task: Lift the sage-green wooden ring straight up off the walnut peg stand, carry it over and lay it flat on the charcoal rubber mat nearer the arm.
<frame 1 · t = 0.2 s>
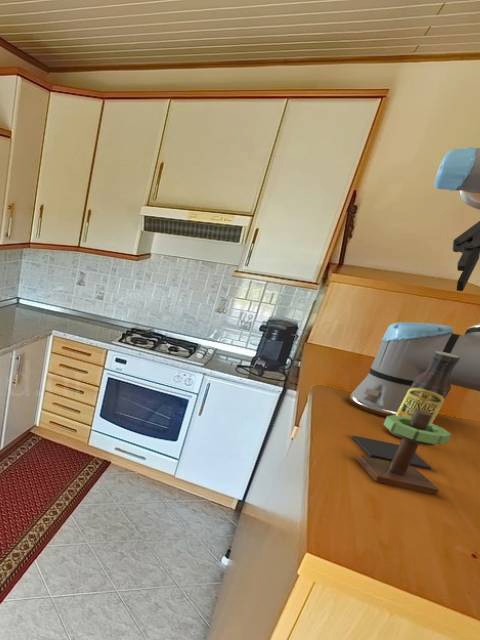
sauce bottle: (405, 438, 110), on the worktop
peg stand: (394, 476, 90), on the worktop
ring: (414, 433, 87), point 9 cm above the worktop, touching peg stand
mat: (389, 452, 101), on the worktop
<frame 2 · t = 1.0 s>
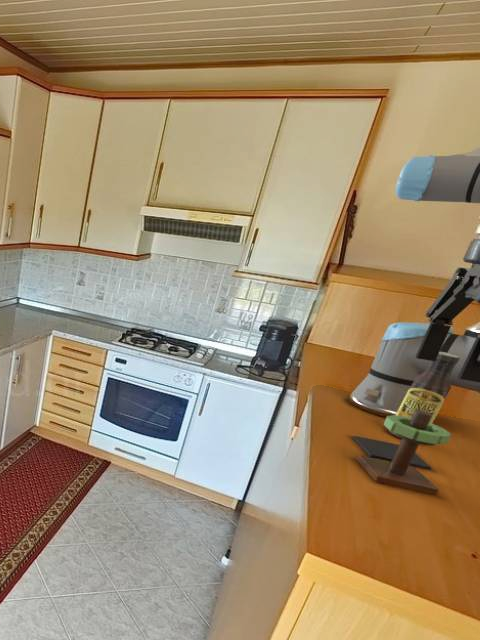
hand: (445, 369, 83), 21 cm above the worktop, tool pointing down, fingers open, 13 cm apart
nothing on the worktop moved.
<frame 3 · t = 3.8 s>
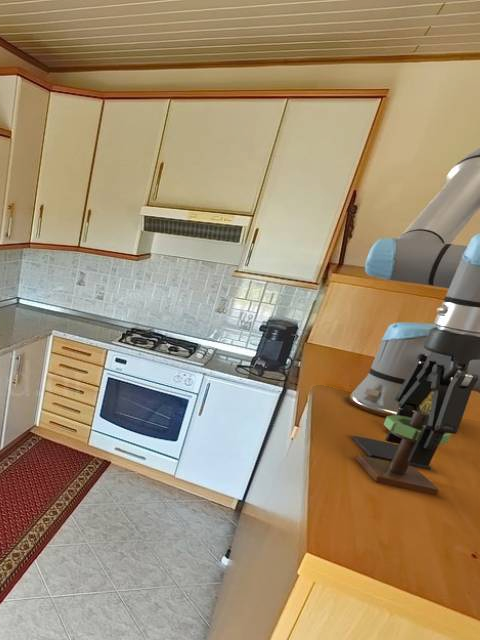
hand: (405, 452, 88), 5 cm above the worktop, tool pointing down, fingers closed on ring, 8 cm apart
ring: (414, 433, 87), point 9 cm above the worktop, touching gripper, peg stand
everything else where it was.
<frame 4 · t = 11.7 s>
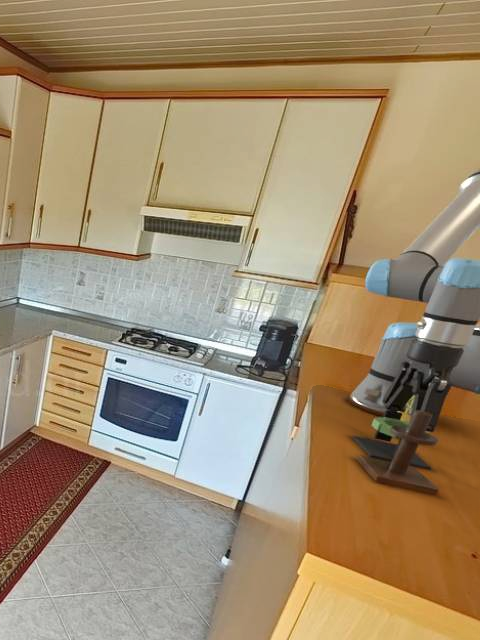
hand: (391, 448, 100), 1 cm above the worktop, tool pointing down, fingers closed on ring, 8 cm apart
ring: (398, 432, 99), point 5 cm above the worktop, touching gripper
everything else where it was.
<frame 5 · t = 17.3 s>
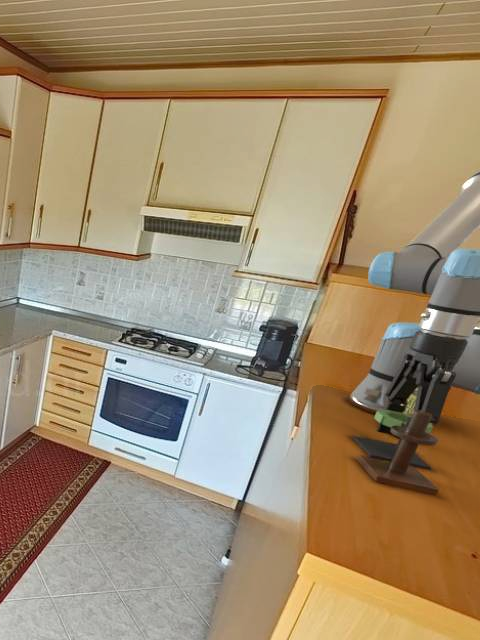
hand: (394, 441, 100), 3 cm above the worktop, tool pointing down, fingers closed on ring, 8 cm apart
ring: (401, 425, 98), point 6 cm above the worktop, touching gripper
everything else where it was.
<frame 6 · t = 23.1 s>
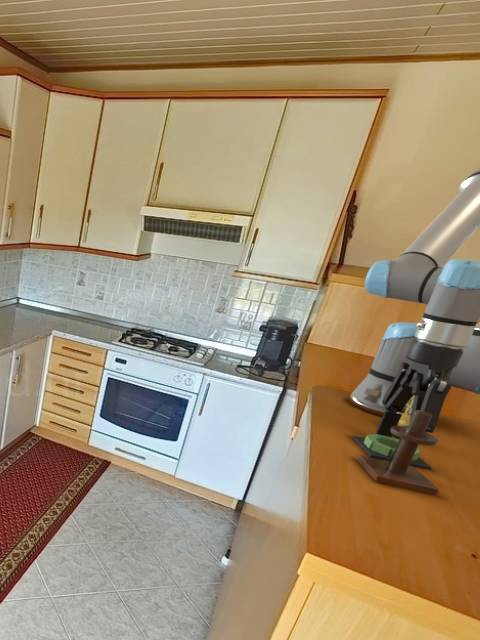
hand: (390, 449, 100), 1 cm above the worktop, tool pointing down, fingers closed on ring, 8 cm apart
ring: (389, 450, 100), point 1 cm above the worktop, touching gripper
everything else where it was.
when the fingers open (2 cm above the worktop, at t = 23.7 s): ring drops 2 cm, resting on mat.
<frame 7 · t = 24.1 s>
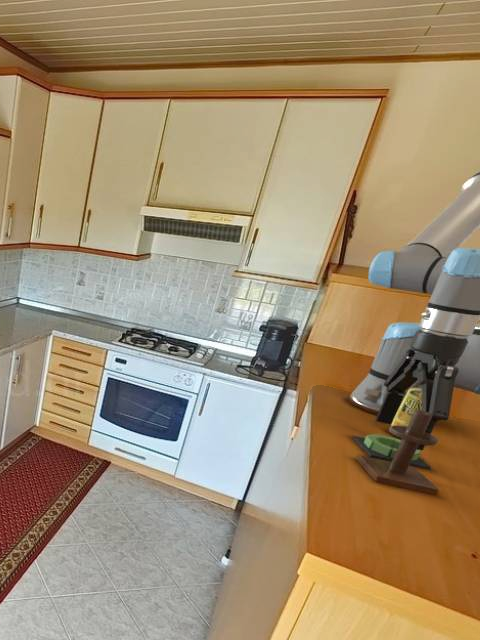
hand: (397, 434, 99), 4 cm above the worktop, tool pointing down, fingers open, 13 cm apart
ring: (389, 450, 100), resting on mat
everything else where it was.
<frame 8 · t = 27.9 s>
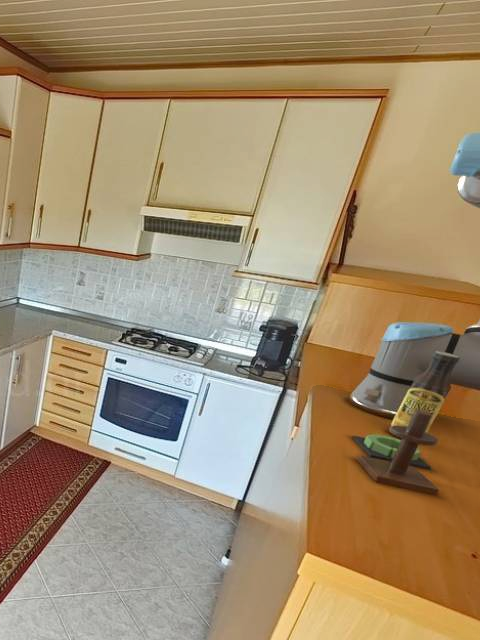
nothing on the worktop moved.
at the end: ring inside the target area on the mat (0.0 cm from its centre), point 0.5 cm above the mat's base; ring tilted 0°; the gripper is holding nothing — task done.
